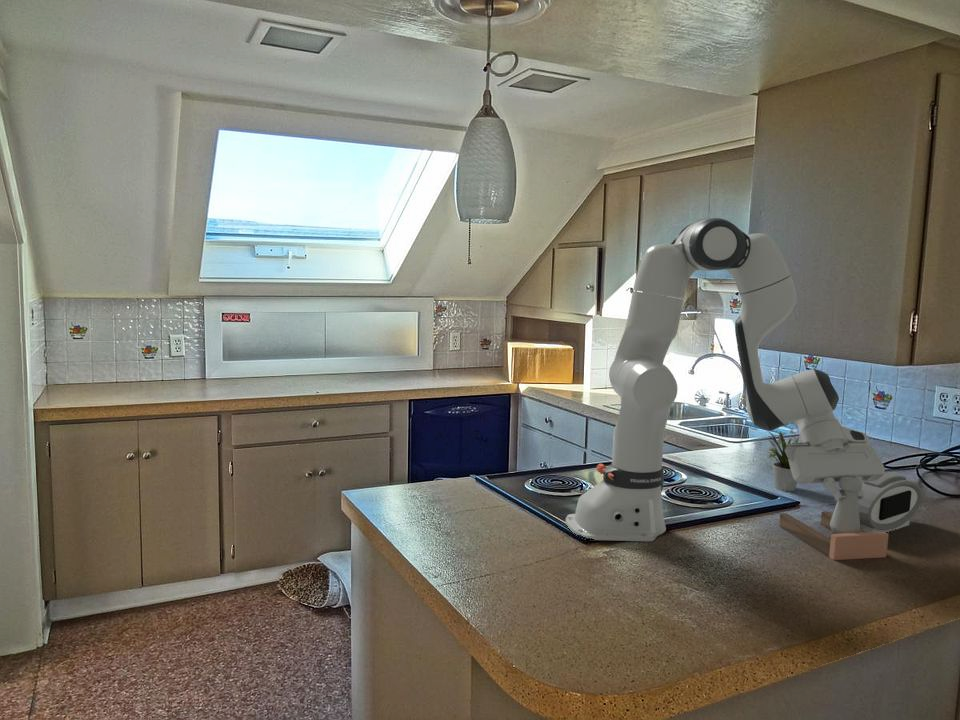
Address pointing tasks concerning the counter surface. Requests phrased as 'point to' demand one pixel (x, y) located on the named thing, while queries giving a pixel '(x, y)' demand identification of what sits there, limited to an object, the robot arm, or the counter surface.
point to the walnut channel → (809, 531)
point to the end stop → (858, 545)
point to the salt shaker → (847, 508)
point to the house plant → (782, 466)
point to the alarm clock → (888, 503)
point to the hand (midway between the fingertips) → (850, 498)
